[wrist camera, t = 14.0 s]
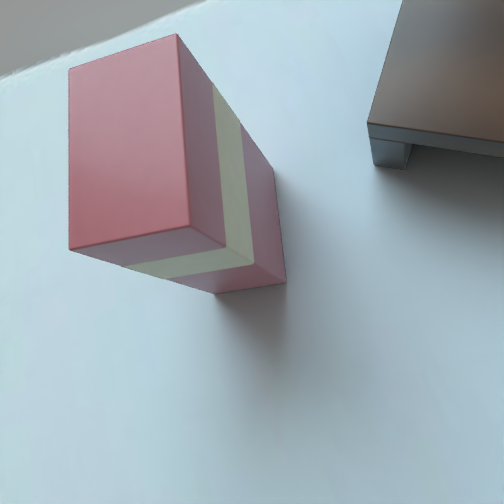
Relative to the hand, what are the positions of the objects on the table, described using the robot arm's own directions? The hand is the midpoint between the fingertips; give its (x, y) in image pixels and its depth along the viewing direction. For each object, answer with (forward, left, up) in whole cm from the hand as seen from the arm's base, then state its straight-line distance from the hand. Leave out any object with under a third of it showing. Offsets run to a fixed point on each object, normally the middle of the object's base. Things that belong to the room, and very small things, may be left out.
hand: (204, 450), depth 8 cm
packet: (+1, +8, -12) cm, 14 cm away
